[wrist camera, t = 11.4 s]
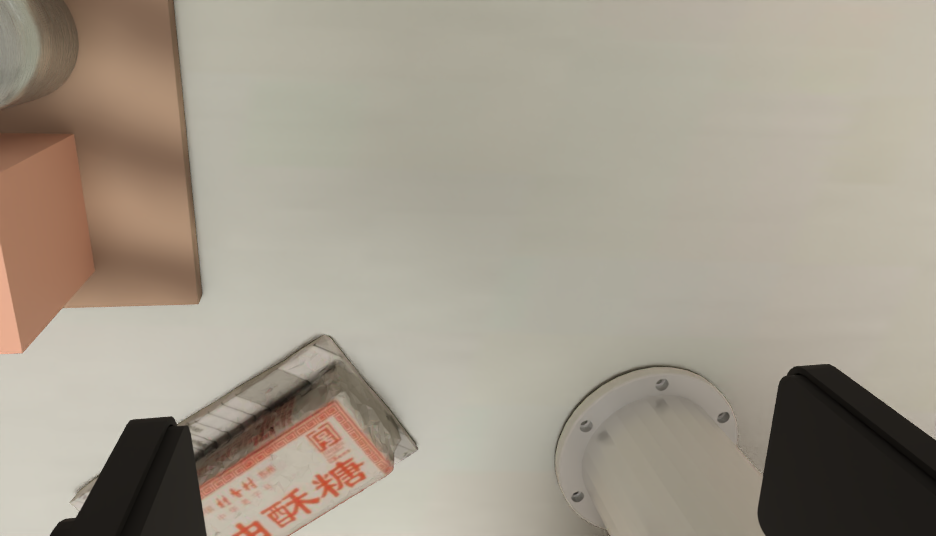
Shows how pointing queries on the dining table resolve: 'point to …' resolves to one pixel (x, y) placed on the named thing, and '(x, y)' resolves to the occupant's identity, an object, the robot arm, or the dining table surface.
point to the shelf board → (126, 152)
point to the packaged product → (290, 445)
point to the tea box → (39, 234)
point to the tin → (35, 49)
